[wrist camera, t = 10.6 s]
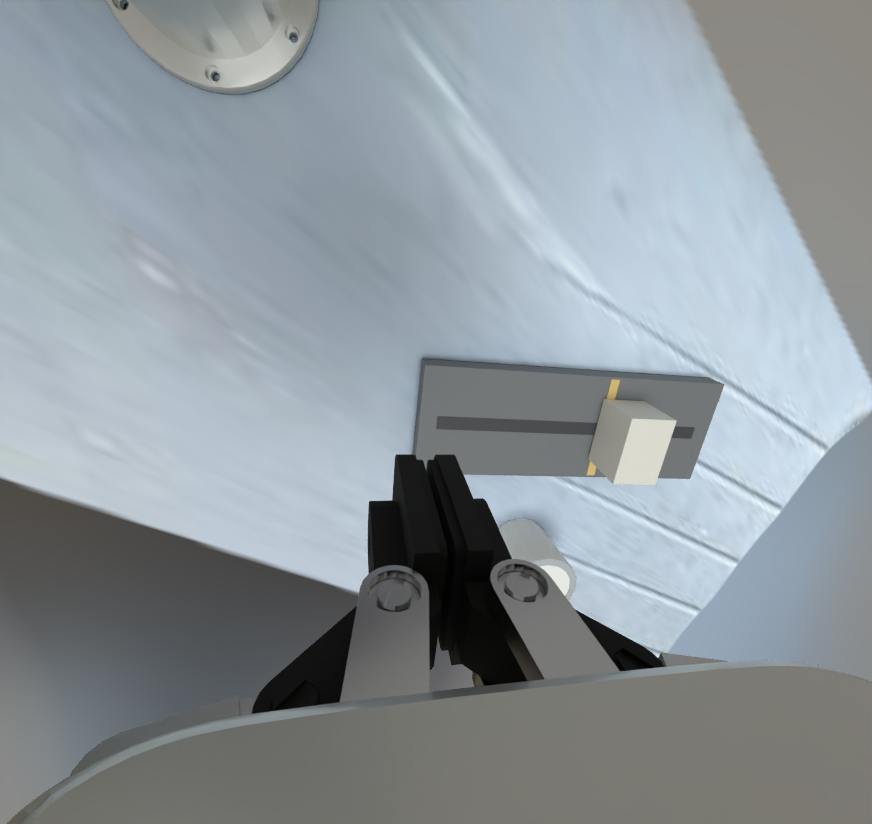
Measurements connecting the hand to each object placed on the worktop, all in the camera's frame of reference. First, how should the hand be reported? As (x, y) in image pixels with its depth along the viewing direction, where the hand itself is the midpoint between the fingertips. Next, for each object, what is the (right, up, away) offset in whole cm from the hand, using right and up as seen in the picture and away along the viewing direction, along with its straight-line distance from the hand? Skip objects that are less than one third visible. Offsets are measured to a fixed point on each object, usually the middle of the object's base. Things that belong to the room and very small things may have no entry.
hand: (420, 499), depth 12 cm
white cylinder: (+9, -11, +34) cm, 37 cm away
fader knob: (+17, +1, +28) cm, 33 cm away
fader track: (+12, +2, +29) cm, 32 cm away
